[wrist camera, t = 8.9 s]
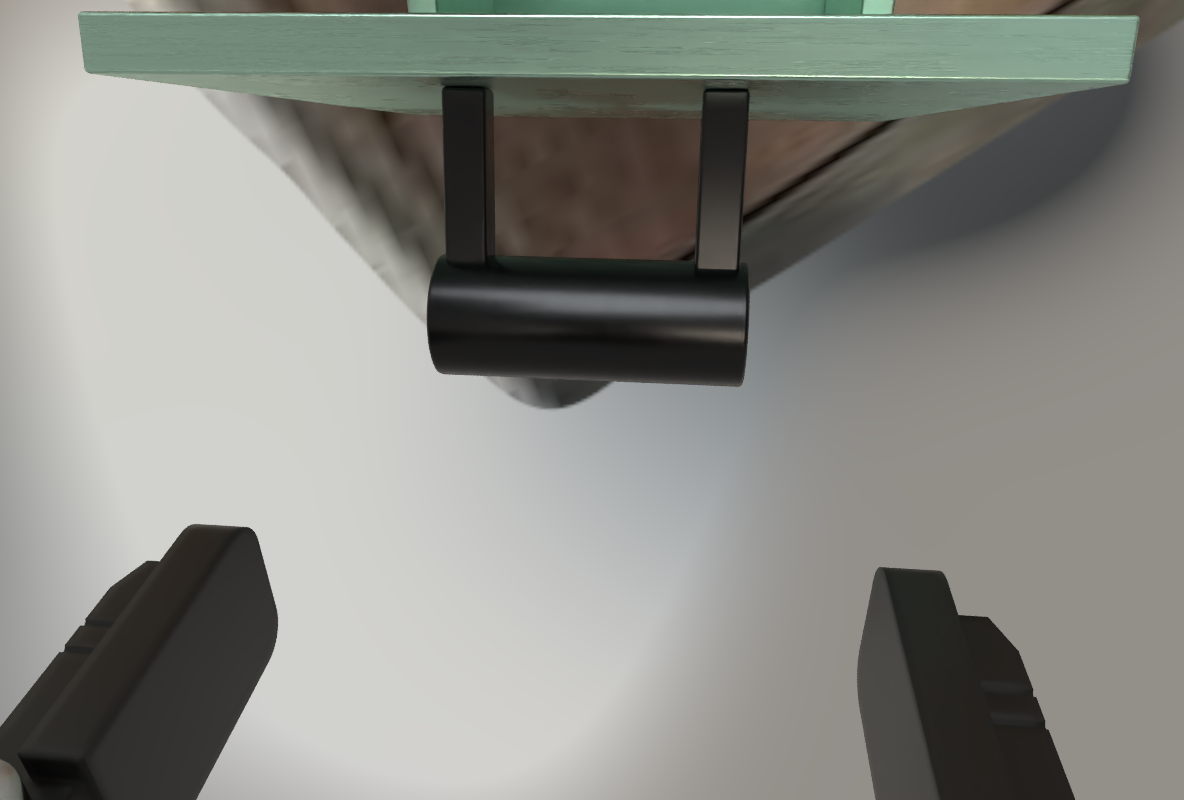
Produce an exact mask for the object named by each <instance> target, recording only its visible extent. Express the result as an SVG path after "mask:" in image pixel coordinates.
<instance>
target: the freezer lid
mask: <svg viewBox="0 0 1184 800" xmlns="http://www.w3.org/2000/svg"><path fill="white" fill-rule="evenodd" d="M78 19H79V27H80V35H81V43H82V51H83V59H84V68H85V70H86V72H88V73H91V74H98V75H106V76H114V77H122V78H130V79H137V80H145V81H153V82H161V83H169V84H177V85H185V86H192V87H200V88H208V89H216V90H224V91H231V92H239V93H247V94H255V95H263V96H271V97H278V98H286V99H294V100H302V101H310V102H318V103H325V104H333V105H341V106H349V107H357V108H365V109H373V110H380V111H388V112H396V113H404V114H412V115H442V132H443V172H444V212H445V252H446V254H444V255H441V256H440V257H439V258H438V260H437V261H436V264H435V266H434V269H433V272H432V275H431V280H430V285H429V291H428V300H427V335H428V344H429V350H430V354H431V358H432V361H433V364H434V366H435V368H436V370H437V371H438V372H440V373H442V374H453V375H454V374H455V375H477V376H500V377H524V378H547V379H571V380H594V381H617V382H641V383H664V384H688V385H711V386H712V385H713V386H735V387H738V386H741V385H742V383H743V379H744V373H745V366H746V356H747V344H748V328H749V303H750V301H749V299H750V278H749V268H748V265H747V264H746V263H742V262H740V255H741V238H742V221H743V205H744V188H745V171H746V154H747V138H748V121H749V120H804V121H873V122H881V121H887V120H894V119H900V118H907V117H913V116H920V115H926V114H933V113H939V112H946V111H952V110H959V109H965V108H972V107H978V106H985V105H991V104H998V103H1004V102H1011V101H1017V100H1024V99H1030V98H1037V97H1043V96H1050V95H1056V94H1063V93H1069V92H1076V91H1082V90H1089V89H1095V88H1101V87H1108V86H1115V85H1121V84H1126V83H1128V82H1129V80H1130V77H1131V71H1132V65H1133V59H1134V52H1135V46H1136V40H1137V34H1138V28H1139V22H1140V18H1139V16H1136V15H1001V14H691V13H382V12H80V13H79V14H78ZM494 116H526V117H596V118H665V119H701V136H700V158H699V179H698V201H697V222H696V243H695V261H674V260H640V259H607V258H573V257H539V256H505V255H495V183H494Z"/></svg>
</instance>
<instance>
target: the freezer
mask: <svg viewBox="0 0 1184 800" xmlns="http://www.w3.org/2000/svg"><path fill="white" fill-rule="evenodd" d="M407 5H408V13H691V14H893V13H894V6H895V0H407Z"/></svg>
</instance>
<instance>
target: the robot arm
mask: <svg viewBox="0 0 1184 800" xmlns="http://www.w3.org/2000/svg"><path fill="white" fill-rule="evenodd" d="M85 620H86V622H85V625H84V626H80V627H79V628H78V629H77V631H76V632H75V633H74V634H73V636H72V637H71V638H70V639H69V641H68V642H67V643H66V644H65V650H64V652H59V653H58V655H57V656H56V657H55V658H54V660H53V661H52V662H51V664H50V665H49V666H48V667H47V669H46V670H45V671H44V672H43V674H42V675H41V676H40V677H39V679H38V680H37V681H36V683H35V684H34V685H33V686H32V688H31V689H30V690H29V691H28V693H27V694H26V695H25V697H24V698H23V699H22V700H21V702H20V703H19V704H18V705H17V707H16V708H15V709H14V711H13V712H12V713H11V714H10V715H9V717H8V718H7V719H6V721H5V722H4V723H3V724H2V726H1V727H0V800H196V799H197V797H198V795H199V793H200V791H201V789H202V787H203V786H204V784H205V782H206V780H207V778H208V776H209V774H210V772H211V770H212V768H213V767H214V765H215V763H216V761H217V759H218V757H219V755H220V753H221V751H222V749H223V748H224V746H225V744H226V742H227V740H228V738H229V736H230V734H231V732H232V730H233V729H234V727H235V725H236V723H237V721H238V719H239V717H240V715H241V713H242V711H243V710H244V708H245V706H246V704H247V702H248V700H249V698H250V696H251V694H252V692H253V691H254V689H255V687H256V685H257V683H258V681H259V679H260V677H261V675H262V673H263V672H264V670H265V668H266V666H267V664H268V662H269V660H270V658H271V655H272V653H273V650H274V647H275V643H276V638H277V631H278V615H277V609H276V605H275V601H274V597H273V594H272V590H271V586H270V583H269V579H268V575H267V571H266V568H265V564H264V560H263V556H262V553H261V549H260V545H259V542H258V539H257V536H256V534H255V532H254V531H253V530H252V529H250V528H248V527H236V526H219V525H202V524H193V525H190V526H188V527H187V528H186V529H184V530H183V532H182V533H181V534H180V535H179V537H178V538H177V539H176V541H175V542H174V543H173V545H172V546H171V547H170V549H169V550H168V551H167V553H166V554H165V555H164V557H163V558H162V559H161V561H160V562H159V561H146V562H145V563H143V564H142V565H141V566H139V567H138V568H137V569H135V570H134V571H132V572H131V573H130V574H128V575H127V576H126V577H124V578H123V579H122V580H120V581H119V582H117V583H116V584H114V585H113V586H112V587H110V589H109V590H108V591H107V592H106V594H105V595H104V596H103V598H102V599H101V600H100V602H99V603H98V604H97V605H96V607H95V608H94V609H93V610H92V612H91V613H90V614H89V615H88V617H87V618H86V619H85ZM857 687H858V700H859V707H860V713H861V718H862V724H863V730H864V736H865V741H866V747H867V753H868V759H869V764H870V770H871V776H872V781H873V787H874V793H875V798H876V800H1075V798H1074V795H1073V793H1072V790H1071V787H1070V785H1069V782H1068V779H1067V777H1066V774H1065V772H1064V769H1063V766H1062V764H1061V761H1060V758H1059V756H1058V753H1057V751H1056V748H1055V745H1054V743H1053V740H1052V737H1051V735H1050V733H1049V730H1047V729H1046V728H1045V719H1044V717H1043V714H1042V711H1041V709H1040V706H1039V703H1038V701H1037V698H1036V697H1033V688H1032V685H1031V682H1030V680H1029V677H1028V675H1027V672H1026V669H1025V667H1024V664H1023V661H1022V659H1021V656H1020V654H1019V651H1018V650H1017V649H1016V648H1015V647H1014V646H1013V644H1012V643H1011V642H1010V641H1009V640H1008V639H1007V638H1006V637H1005V636H1004V635H1003V633H1002V632H1001V631H1000V630H999V629H998V628H997V627H996V626H995V624H994V623H992V621H991V620H990V619H989V618H988V617H978V616H963V615H958V613H957V610H956V606H955V603H954V600H953V597H952V594H951V591H950V588H949V585H948V582H947V579H946V577H945V575H944V574H943V572H941V571H935V570H917V569H901V568H885V567H879V568H878V569H877V571H876V573H875V576H874V580H873V585H872V590H871V595H870V600H869V606H868V610H867V616H866V620H865V625H864V630H863V635H862V640H861V645H860V650H859V657H858V669H857Z"/></svg>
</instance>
